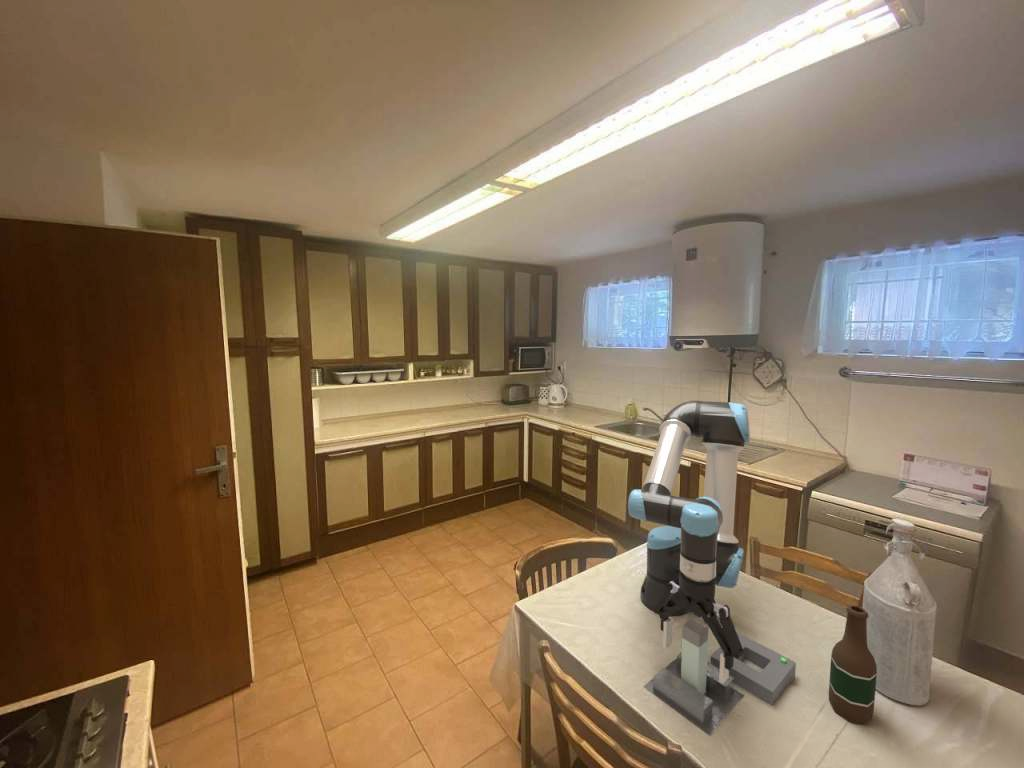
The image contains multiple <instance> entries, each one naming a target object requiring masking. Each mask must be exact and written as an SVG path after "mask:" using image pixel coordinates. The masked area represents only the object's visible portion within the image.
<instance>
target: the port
mask: <svg viewBox="0 0 1024 768" xmlns="http://www.w3.org/2000/svg"><path fill="white" fill-rule="evenodd" d="M736 633H737V635H738V638H739V640H740V643H741V645H742V648H743V650H744V653H743V654H742V655H741V656H740V657H739V658H738V659H736V658H734V663H733V667H732V668H731V669H730V670H729V675H730V676H731V677H733V678H734V684H736V685H737V686H739V687H740V688H742V689H745V691H748V692H749V693H751V694H752V695H754V696H756V697H758V699H760V700H762V701H764V702H766V703H767V704H769V705H770V706H773V705H774V704H775V702H776V701H777V700H778V698H779V697H780V696H781V695H782V693H783V692H784V690H785V689H786V687H787V686H789V685H790V684H792V682H793V681H794V680H795V678H796V668H797V663H796V662H795V661H794V660H793V659H790V658H788V657H786V656H784V655H783V654H781V653H779V652H776V651H774V650H773V649H770V648H769V647H767V646H766V645H763V644H761V643H759V642H757V641H755V640H753V639H751V638H750V637H748V636H745V635H744V634H741V633H740V632H738V631H736ZM722 652H723V650H722V649H721V647H720V646H719V647H718V648H717V649H716V650H715V651H714V652H713V653H712V654H711V655H710V662H709V663H710V664H712V665H713V666H715V667H717V668H718V669H720V654H721V653H722ZM744 660H747V661H748V662H751V663H752V664H754V665H756V666H757V667H758V668H761V669H762V671H759V670H757V669H755V668H753V667H752V666H750V665H749V664H747V663H745V662H743V661H744Z"/></svg>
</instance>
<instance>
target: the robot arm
mask: <svg viewBox="0 0 1024 768" xmlns="http://www.w3.org/2000/svg"><path fill="white" fill-rule="evenodd" d="M748 413H749V412H748V408H747V407H746V406H745V404H742V403H737V402H736V403H735V402H731V401H729V402H727V401H726V402H725V401H705V400H688V401H685V402H682V403H679V404H678V405H676V406H675V407H673V408H671V410H669V411H668V412H667V413H666V414H665V415H664V417H663V419H662V420H661V422H660V425H659V428H658V432H659V435H660V436H659V439H658V442H657V443H656V446H655V447H656V448H655V450H654V453H653V456H652V459H651V462H650V465H649V468H648V469H647V473H646V477H645V479H644V483H643V485H642V489H637V488H635V489H632V491H631V492H630V494H629V496H628V500H627V511H628V514H629V516H630V517H631V518H633V519H636V520H639V521H643V522H650V523H654V524H660V525H662V526H657V527H654V528H652V529H651V530H650V531H649V532H648V535H647V543H646V573H645V574H646V575H645V577H644V580H643V582H642V585H641V587H640V601H641V603H643V604H644V605H645V606H646V607H647V608H649V609H650V610H651V611H653V613H654V614H655V615H656V614H657V615H658V616H659V618H660V631H661V632H662V633H663V635H662V647H663V648H664V649H667V648H668V647H670V646H671V645H672V644H673V624H674V623H673V622H674V621H673V617H671V616H681V615H686V614H687V613H688V612H689V613H691V614H693V615H695V616H696V617H698V618H702V621H703V622H704V624H706V625H707V627H708V629H709V630H710V631H711V634H712V635H713V637H714V638H715V640H716V641H717V643H718V645H719V647H721V649H722V650H723V652H722V653H721V654H720V674H719V682H720V683H722V684H723V683H724V682H725V681H726V680H727V679H728V678H729V670H730V669H731V668H732V667H733V663H734V658H736V659H738V658H739V657H740V656H741V655H742V654H743V653H744V650H743V648H742V645H741V643H740V640H739V638H738V635H737V633H736V632H737V630H736V628H735V626H734V622H733V620H732V618H731V610H730V607H729V606H728V604H724V605H721V604H717V602H716V601H715V600H716V599H715V596H716V586H717V587H723V588H728V589H734V588H735V587H736V586H737V583H738V581H739V575H740V571H741V568H742V567H741V566H742V562H743V556H744V549H743V548H741V547H739V539H738V538H737V537H736V536H735V535H734V530H735V529H734V527H735V512H736V511H735V509H736V508H735V507H736V491H737V478H738V458H739V453H740V452H742V451H743V450H744V449H745V443H746V444H747V443H748V444H749V443H750V442H751V436H750V423H749V415H748ZM693 437H694V438H699V439H700V438H701V439H702V441H701V444H702V445H703V446H704V447H705V449H706V459H705V473H704V474H705V475H704V486H703V487H704V488H703V496H700V497H698V498H696V499H692V498H687V497H681V496H674V495H673V491H674V488H675V483H676V480H677V476H678V473H679V470H680V465H681V462H682V457H683V453H684V450H685V447H686V443H689V441H690V440H691V438H693ZM715 611H716V612H715ZM708 615H709V616H708ZM718 619H719V620H718Z"/></svg>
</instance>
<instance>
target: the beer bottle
mask: <svg viewBox="0 0 1024 768" xmlns="http://www.w3.org/2000/svg"><path fill="white" fill-rule="evenodd" d="M845 611H846V612H847V615H846V621H845V626H844V627H845V628H844V633H843V636H842V639H841V640H839V641H838V642H837V643H835V644H834V646H833V648H832V650H831V655H830V669H829V684H828V701H829V703H830V705H831V707H832V709H833V710H834V712H835V714H837V715H839V716H840V717H842V719H845V720H846V721H848V722H849V723H854V724H857V725H858V724H859V725H863V726H866V725H867V724H869V722H870V721H872V719H873V717H874V711H875V702H876V701H875V700H876V677H877V665H876V662H875V660H874V657H873V655H872V654H871V652H870V651H869V649H868V645H867V618H868V617H869V616H868V613H867V612H866V610H865V609H863V608H862V607H861V606H858V605H855V604H850V605H847V607H846V609H845Z"/></svg>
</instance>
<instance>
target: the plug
mask: <svg viewBox="0 0 1024 768" xmlns="http://www.w3.org/2000/svg"><path fill="white" fill-rule="evenodd" d="M681 635H682V636H681V652H682V662H681V680H682V681H684V682H685V683H687V684H688V685H690V686H691V687H693V688H694V689H696V690H697V691H699V692H700V693H702V694H704V693H705V692H706V676H707V662H708V650H709V649H708V647H709V646H708V645H709V644H708V643H709V626H706V625H704V624H703V623H701V622H699V621H698V620H695V619H693V618H690V619H689V620H688V621H687V622H686V623H685V624H683V625H682V634H681Z"/></svg>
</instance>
